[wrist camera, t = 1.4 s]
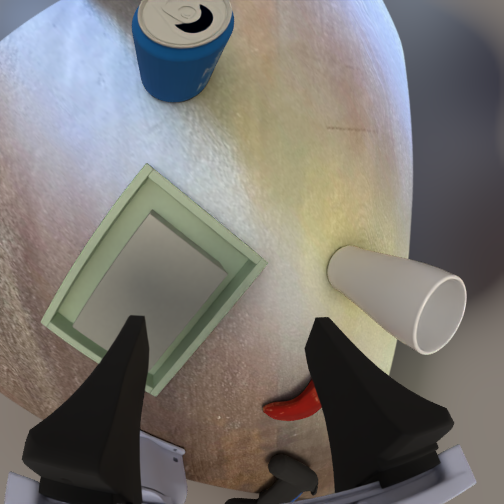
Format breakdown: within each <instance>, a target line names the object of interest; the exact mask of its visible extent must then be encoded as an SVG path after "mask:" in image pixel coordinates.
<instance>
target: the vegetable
mask: <svg viewBox="0 0 504 504" xmlns="http://www.w3.org/2000/svg"><path fill="white" fill-rule="evenodd" d="M320 408H321V404H320V401H319V398H318V395H317V392H316V389H315V386H314V383H313V381H312V380H311V381H310V383H309V384H308V386H307V387H306V389H305V390H304V391H303V392H302V393H301V394H300V395H299V396H297V397H296V398H294V399H292V400H289V401H282V402H273V403H270V404H267V405H265V406H264V407H263V412H264V413H266V414H267V415H268V416H270V417H271V418H273V419H276V420H283V421H294V420H299V419H303V418H306V417H309V416H311V415H313V414H314V413H316V412H317V411H318V410H319V409H320Z"/></svg>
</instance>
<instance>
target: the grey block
mask: <svg viewBox="0 0 504 504" xmlns="http://www.w3.org/2000/svg"><path fill="white" fill-rule="evenodd" d="M227 275H228V274H227V272H226V271H225V269H224V268H223V266H222V265H221V264H220V262H219V261H217V260H216V259H215V258H214V257H212V256H211V255H210V254H208V253H207V252H206V251H205V250H203V249H202V248H201V247H199V246H198V245H197V244H196V243H194V242H193V241H192V240H191V239H189V238H188V237H187V236H185V235H184V234H183V233H182V232H180V231H179V230H178V229H177V228H175V227H174V226H173V225H172V224H170V223H169V222H168V221H167V220H165V219H164V218H163V217H162V216H160V215H159V214H158V213H157V212H155V211H154V210H153V209H152V210H151V211H150V212H149V214H148V215H147V216H146V218H145V219H144V220H143V222H142V223H141V224H140V226H139V227H138V228H137V230H136V231H135V232H134V234H133V235H132V236H131V238H130V239H129V240H128V242H127V243H126V244H125V246H124V247H123V249H122V250H121V251H120V253H119V254H118V256H117V257H116V259H115V260H114V261H113V263H112V264H111V266H110V267H109V269H108V270H107V272H106V273H105V274H104V276H103V277H102V279H101V280H100V282H99V283H98V285H97V286H96V288H95V289H94V291H93V293H92V294H91V296H90V297H89V299H88V300H87V302H86V303H85V305H84V307H83V308H82V310H81V312H80V313H79V315H78V317H77V318H76V320H75V322H74V324H73V326H72V327H73V328H75V329H76V330H78V331H79V332H80V333H82V334H83V335H85V336H86V337H88V338H89V339H91V340H92V341H93V342H95V343H96V344H98V345H99V346H101V347H102V348H104V349H105V350H107V351H108V350H109V348H110V347H111V345H112V344H113V342H114V341H115V339H116V337H117V336H118V334H119V333H120V331H121V329H122V327H123V326H124V324H125V322H126V320H127V318H128V317H129V316H130V315H139V316H145V321H146V328H147V335H148V341H149V348H150V350H149V366H148V372H149V371H150V370H151V369H152V367H153V366H154V365H155V364H156V362H157V361H158V360H159V359H160V357H161V356H162V355H163V354H164V353H165V351H166V350H167V349H168V348H169V346H170V345H171V344H172V343H173V341H174V340H175V339H176V338H177V336H178V335H179V334H180V333H181V332H182V330H183V329H184V328H185V327H186V325H187V324H188V323H189V322H190V320H191V319H192V318H193V317H194V316H195V314H196V313H197V312H198V311H199V309H200V308H201V307H202V306H203V304H204V303H205V302H206V301H207V300H208V298H209V297H210V296H211V295H212V293H213V292H214V291H215V290H216V289H217V287H218V286H219V285H220V284H221V282H222V281H223V280H224V279H225V277H226V276H227Z"/></svg>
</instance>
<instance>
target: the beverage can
mask: <svg viewBox="0 0 504 504" xmlns="http://www.w3.org/2000/svg"><path fill="white" fill-rule="evenodd" d="M233 27H234V16H233V12H232V8H231V4H230V1H229V0H142V1H141V3H140V5H139V7H138V8H137V10H136V12H135V14H134V17H133V20H132V33H133V38H134V44H135V49H136V55H137V60H138V65H139V70H140V75H141V80H142V83H143V85H144V87H145V89H146V90H147V91H148V92H149V93H150V94H151V95H152V96H154V97H155V98H157V99H159V100H162V101H166V102H181V101H185V100H188V99H190V98H192V97H194V96H196V95H197V94H199V93H200V92H201V91H202V90H203V89H204V88H205V86H206V85H207V83H208V81H209V79H210V76H211V74H212V72H213V70H214V68H215V66H216V64H217V62H218V60H219V58H220V56H221V54H222V52H223V50H224V48H225V46H226V44H227V42H228V40H229V38H230V36H231V34H232V31H233Z"/></svg>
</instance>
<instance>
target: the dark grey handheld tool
mask: <svg viewBox="0 0 504 504" xmlns="http://www.w3.org/2000/svg"><path fill="white" fill-rule="evenodd" d="M268 468H269V472H270V473H272V474H273V475H274V476H276V477H277V478H278V479H277V481H276V482H275V483H274V484H273V485H272V486H271V487H270V488H269V489H267V490H264V491H263V492H261V493H260V494H259V498H258V499H244V498H232V499H229V500H228V501H226V502H225V504H284V503H290V502H293V501H294V500H296V499H297V498H298V497H299V496H300V495H301V494H302V493H303V492H304V491H311V494H312V495H315V494H316V493H317V488H318V486H317V485H318V477H317V475H316V473H315V472H314V471H313V470H311V469H310V468H309V467H307V466H306V465H304V464H302V463H300V462H298V461H296V460H294V459H292V458H290V457H288V456H286V455H276V456H274V457H272V459H271V460H270V461H269V464H268Z"/></svg>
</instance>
